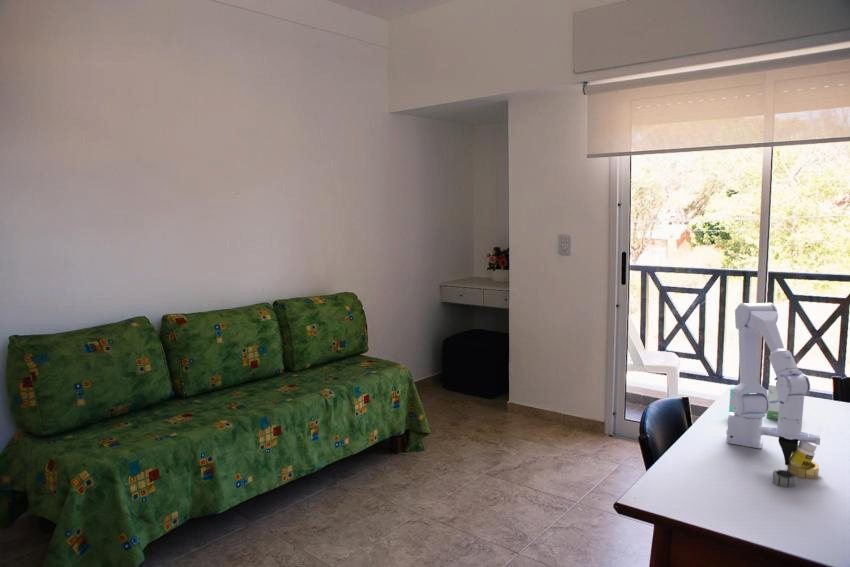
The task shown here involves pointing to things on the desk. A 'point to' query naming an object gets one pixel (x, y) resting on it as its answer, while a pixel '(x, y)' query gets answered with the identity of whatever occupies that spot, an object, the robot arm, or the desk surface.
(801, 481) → the desk surface
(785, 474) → the small steel collar
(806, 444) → the supplement bottle
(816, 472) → the wide wooden arch
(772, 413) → the ink box
